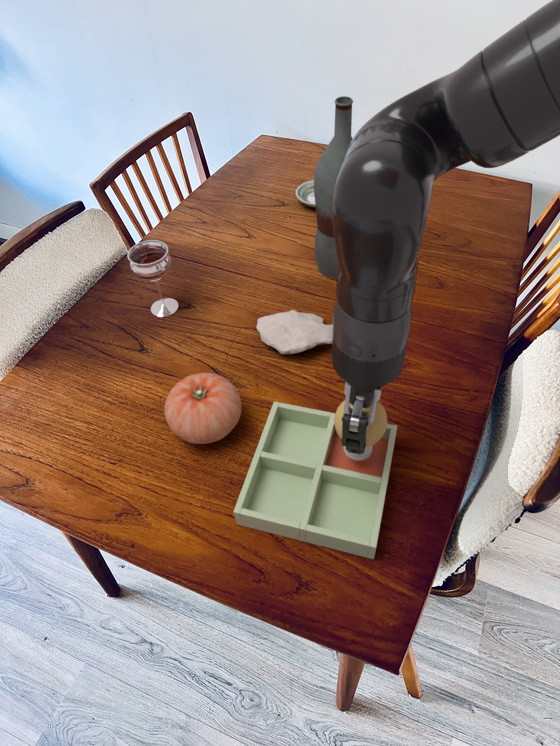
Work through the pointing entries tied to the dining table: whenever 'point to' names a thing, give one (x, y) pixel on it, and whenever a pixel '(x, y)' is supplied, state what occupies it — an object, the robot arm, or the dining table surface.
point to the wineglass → (153, 271)
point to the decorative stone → (294, 331)
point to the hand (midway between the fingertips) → (360, 426)
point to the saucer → (306, 193)
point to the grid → (315, 483)
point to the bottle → (330, 187)
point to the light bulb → (374, 429)
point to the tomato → (203, 408)
